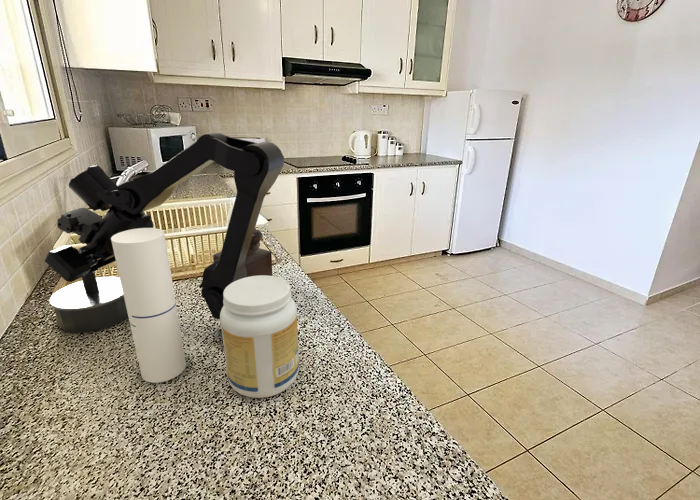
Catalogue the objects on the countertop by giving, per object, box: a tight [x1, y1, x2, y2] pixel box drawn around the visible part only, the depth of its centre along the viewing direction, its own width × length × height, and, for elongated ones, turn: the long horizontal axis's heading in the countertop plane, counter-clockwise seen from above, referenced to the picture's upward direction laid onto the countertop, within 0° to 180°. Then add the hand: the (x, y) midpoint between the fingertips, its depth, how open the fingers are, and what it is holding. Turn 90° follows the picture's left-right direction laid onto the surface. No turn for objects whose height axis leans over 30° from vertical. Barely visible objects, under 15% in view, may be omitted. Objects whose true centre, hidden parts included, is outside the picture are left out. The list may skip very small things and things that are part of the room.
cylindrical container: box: [111, 227, 187, 384], centre depth 61 cm, size 7×7×25 cm
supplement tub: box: [219, 275, 300, 399], centre depth 62 cm, size 12×12×17 cm
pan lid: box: [49, 271, 124, 311], centre depth 78 cm, size 15×15×9 cm
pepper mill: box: [212, 228, 273, 277], centre depth 91 cm, size 16×11×18 cm
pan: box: [53, 296, 129, 334], centre depth 81 cm, size 14×14×5 cm
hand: (82, 273), depth 78 cm, fingers open, 4 cm apart
